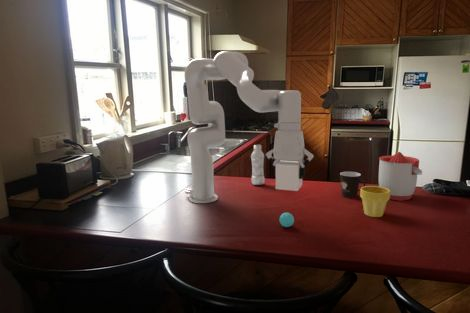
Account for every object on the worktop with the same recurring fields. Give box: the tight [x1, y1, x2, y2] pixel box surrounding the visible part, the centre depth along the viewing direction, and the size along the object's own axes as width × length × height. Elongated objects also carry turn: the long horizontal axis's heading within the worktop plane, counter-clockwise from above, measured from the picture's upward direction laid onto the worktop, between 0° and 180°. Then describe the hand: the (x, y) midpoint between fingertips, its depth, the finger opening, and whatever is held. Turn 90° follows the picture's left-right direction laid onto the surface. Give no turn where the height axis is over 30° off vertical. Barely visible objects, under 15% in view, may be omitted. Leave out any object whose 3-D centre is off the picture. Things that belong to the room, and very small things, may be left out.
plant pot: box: [359, 185, 390, 218], centre depth 135 cm, size 10×10×10 cm
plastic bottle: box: [250, 144, 266, 186], centre depth 177 cm, size 6×7×20 cm
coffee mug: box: [339, 171, 366, 199], centre depth 156 cm, size 12×9×10 cm
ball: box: [279, 212, 295, 228], centre depth 125 cm, size 5×5×5 cm
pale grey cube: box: [275, 160, 303, 192], centre depth 125 cm, size 8×8×9 cm
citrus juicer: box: [378, 151, 423, 202], centre depth 153 cm, size 16×17×20 cm
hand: (289, 176), depth 125 cm, fingers closed on pale grey cube, 7 cm apart
